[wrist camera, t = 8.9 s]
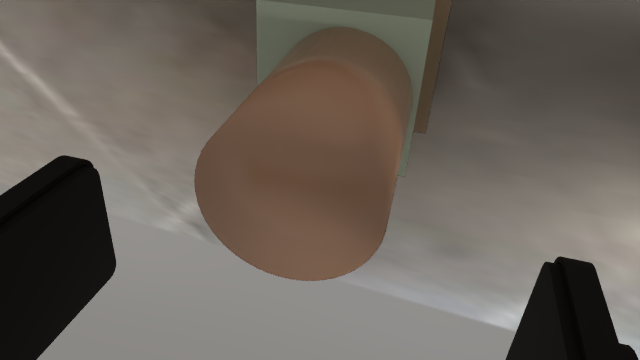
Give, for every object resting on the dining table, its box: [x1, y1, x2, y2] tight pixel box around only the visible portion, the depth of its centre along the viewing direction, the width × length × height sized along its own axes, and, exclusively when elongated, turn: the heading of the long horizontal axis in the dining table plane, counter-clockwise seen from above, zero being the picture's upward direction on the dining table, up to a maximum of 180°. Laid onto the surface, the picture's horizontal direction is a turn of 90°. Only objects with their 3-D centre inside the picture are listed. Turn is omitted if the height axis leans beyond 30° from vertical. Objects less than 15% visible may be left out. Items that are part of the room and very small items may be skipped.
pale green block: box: [256, 0, 436, 177], centre depth 20 cm, size 6×6×5 cm
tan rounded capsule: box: [194, 27, 413, 281], centre depth 15 cm, size 5×5×7 cm
